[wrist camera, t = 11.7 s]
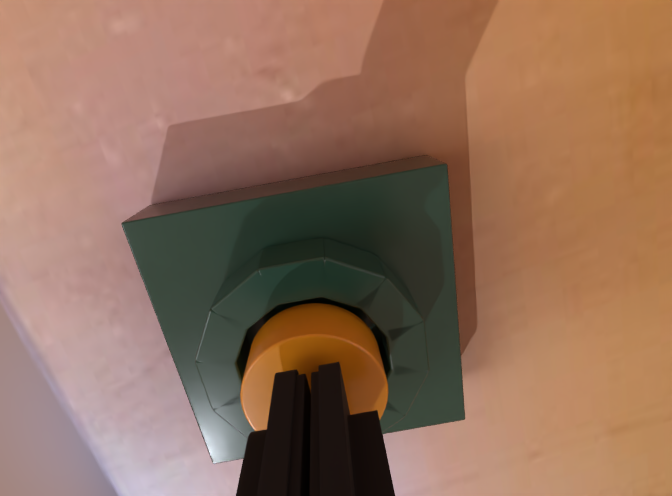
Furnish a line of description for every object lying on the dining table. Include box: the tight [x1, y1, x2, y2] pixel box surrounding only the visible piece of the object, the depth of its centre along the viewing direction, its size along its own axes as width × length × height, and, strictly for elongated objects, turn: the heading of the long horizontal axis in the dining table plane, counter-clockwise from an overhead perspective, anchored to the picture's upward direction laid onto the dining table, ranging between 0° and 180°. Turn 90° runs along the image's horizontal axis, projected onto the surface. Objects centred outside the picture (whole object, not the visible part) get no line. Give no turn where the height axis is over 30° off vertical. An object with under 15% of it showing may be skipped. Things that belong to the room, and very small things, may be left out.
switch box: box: [122, 155, 465, 464], centre depth 14 cm, size 10×10×4 cm
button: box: [240, 303, 388, 431], centre depth 11 cm, size 4×4×2 cm
